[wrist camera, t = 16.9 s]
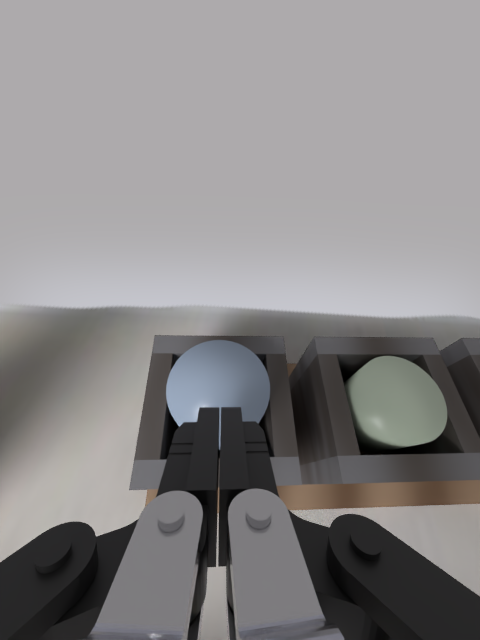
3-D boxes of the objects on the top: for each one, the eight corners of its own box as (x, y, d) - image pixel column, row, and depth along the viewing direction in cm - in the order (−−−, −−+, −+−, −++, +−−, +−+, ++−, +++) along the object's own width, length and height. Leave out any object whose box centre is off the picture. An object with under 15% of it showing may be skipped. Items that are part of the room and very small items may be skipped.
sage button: (337, 454, 17) (372, 444, 13) (323, 381, 19) (348, 355, 16) (409, 452, 17) (463, 443, 13) (386, 380, 20) (426, 356, 16)
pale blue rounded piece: (175, 454, 15) (159, 443, 11) (182, 371, 17) (172, 339, 13) (261, 452, 15) (274, 441, 11) (256, 371, 18) (266, 340, 14)
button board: (147, 513, 19) (98, 532, 11) (166, 367, 25) (142, 314, 17) (537, 500, 21) (721, 508, 13) (469, 368, 27) (570, 320, 19)
